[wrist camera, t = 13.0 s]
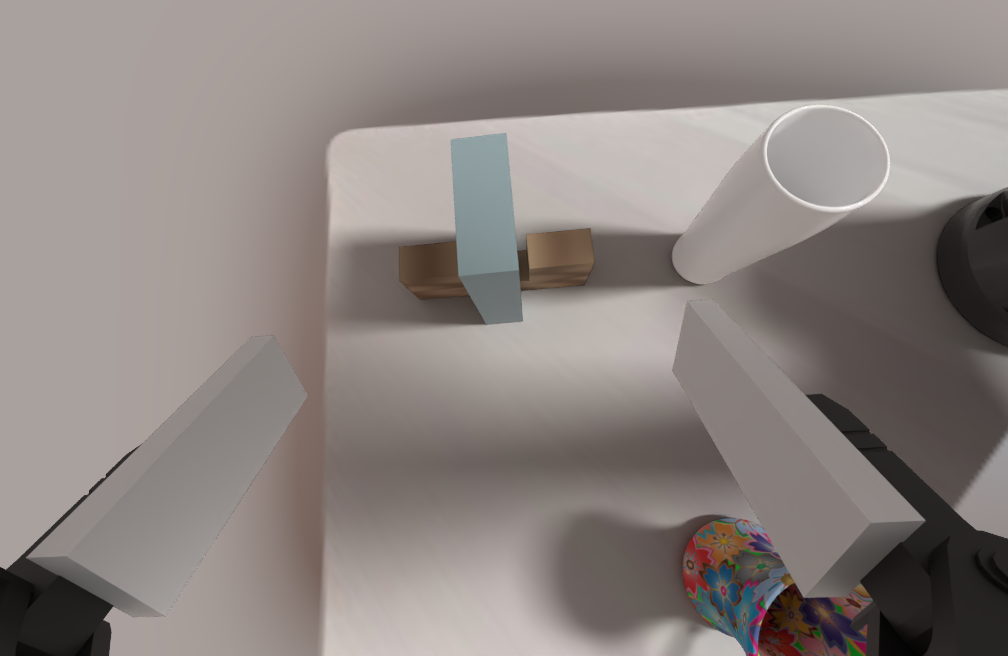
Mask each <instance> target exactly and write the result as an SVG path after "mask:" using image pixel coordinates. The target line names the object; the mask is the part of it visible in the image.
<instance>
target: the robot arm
mask: <svg viewBox="0 0 1008 656" xmlns="http://www.w3.org/2000/svg"><path fill="white" fill-rule="evenodd" d="M938 268H939V273H940V277H941V280H942V283H943V285H944V287H945V290H946V292H947V294H948V295H949V297H950V299H951V300H952V302H953V303H954V305H955V306H956V307H957V309H958V310H959V311H960V312H961V314H962V315H963V316H964V317H965V318H966V319H967V320H968V321H969V322H970V323H972V324H973V325H974V326H975V327H976V328H977V329H979V330H980V331H982V332H983V333H984V334H986V335H987V336H989V337H991V338H992V339H994V340H996V341H998V342H1000V343H1002V344H1004V345H1006V346H1008V187H1007V188H1004V189H1002V190H999V191H997V192H995V193H992V194H990V195H988V196H986V197H983V198H981V199H979V200H977V201H974V202H972V203H970V204H968V205H967V206H965V207H964V208H962V209H961V210H960V211H958V212H957V213H956V214H955V215H954V216H953V217H952V218H951V220H950V221H949V222H948V224H947V225H946V227H945V228H944V231H943V233H942V235H941V238H940V241H939V246H938ZM672 371H673V372H674V374H675V376H676V378H677V379H678V381H679V383H680V385H681V386H682V388H683V390H684V391H685V393H686V395H687V397H688V398H689V400H690V402H691V404H692V405H693V407H694V409H695V411H696V412H697V414H698V416H699V417H700V419H701V421H702V423H703V424H704V426H705V428H706V430H707V431H708V433H709V435H710V436H711V438H712V440H713V442H714V443H715V445H716V447H717V449H718V450H719V452H720V454H721V456H722V457H723V459H724V461H725V462H726V464H727V466H728V468H729V469H730V471H731V473H732V475H733V476H734V478H735V480H736V481H737V483H738V485H739V487H740V488H741V490H742V492H743V494H744V495H745V497H746V499H747V501H748V502H749V504H750V506H751V507H752V509H753V511H754V513H755V514H756V516H757V518H758V520H759V521H760V523H761V525H762V526H763V528H764V530H765V532H766V533H767V535H768V537H769V539H770V540H771V542H772V544H773V546H774V547H775V549H776V551H777V552H778V554H779V556H780V558H781V559H782V561H783V563H784V565H785V566H786V568H787V570H788V571H789V573H790V575H791V577H792V578H793V580H794V582H795V584H796V585H797V587H798V589H799V591H800V592H801V594H802V596H803V597H804V598H816V597H846V596H847V595H848V594H849V593H850V592H851V591H852V590H853V589H854V588H855V587H857V586H858V585H859V584H860V583H861V584H862V585H863V587H864V588H865V590H866V591H867V592H868V594H869V595H870V597H871V598H872V599H873V602H871V603H870V604H869V605H868V606H867V607H865V608H864V609H863V610H862V611H861V612H860V613H858V614H857V615H856V616H855V617H854V618H853V620H852V623H851V625H850V628H852V629H854V630H855V631H857V632H858V631H859V630H860V629H862V628H863V627H864V626H865V625H867V642H866V656H1008V539H1007V538H1004V537H1000V536H997V535H994V534H991V533H988V532H984V531H977V530H976V529H974V528H973V527H972V526H971V525H970V524H968V523H967V522H966V521H965V520H963V519H962V517H960V516H959V515H958V514H957V513H956V512H955V511H954V510H953V509H952V508H951V507H950V506H949V505H948V504H947V503H946V502H945V501H944V500H943V499H942V498H941V497H939V496H938V495H937V494H936V493H935V492H934V491H933V490H932V489H931V488H930V487H929V486H928V485H927V484H926V483H925V482H924V481H923V480H922V479H921V478H919V477H918V476H917V475H916V474H915V473H914V472H913V471H912V470H911V469H910V468H909V467H908V466H907V465H906V464H905V463H904V462H903V461H902V460H901V459H900V458H898V457H897V456H896V455H895V454H894V453H893V452H892V451H888V450H887V446H886V445H885V444H884V443H883V442H882V441H881V440H880V439H879V438H877V437H876V436H875V435H874V434H870V432H869V429H868V428H867V427H866V426H865V425H864V424H863V423H862V422H861V421H860V420H859V419H857V418H856V417H855V416H854V415H853V414H852V413H851V412H850V411H849V410H848V409H846V408H844V407H843V406H841V405H839V404H838V403H836V402H834V401H833V400H831V399H829V398H828V397H826V396H824V395H823V394H813V395H805V394H804V393H803V392H802V391H801V390H800V389H799V388H798V387H797V386H796V385H795V384H794V383H793V382H792V381H791V380H790V379H789V378H788V377H787V376H786V375H785V374H784V373H783V372H782V371H781V369H780V368H779V367H778V366H777V365H776V364H775V363H774V362H773V361H772V360H771V359H770V358H769V357H768V356H767V355H766V354H765V353H764V352H763V351H762V350H761V349H760V348H759V347H758V346H757V345H756V343H755V342H754V341H753V340H752V339H751V338H750V337H749V336H748V335H747V334H746V333H745V332H744V331H743V330H742V329H741V328H740V327H739V326H738V325H737V324H736V323H735V322H734V321H733V320H732V318H731V317H730V316H729V315H728V314H727V313H726V312H725V311H724V310H723V309H722V308H721V307H720V306H719V305H718V304H717V303H716V302H715V301H714V300H713V299H711V300H699V301H687V304H686V308H685V313H684V318H683V323H682V327H681V332H680V337H679V342H678V346H677V351H676V356H675V361H674V365H673V370H672ZM307 397H308V395H307V393H306V391H305V389H304V388H303V386H302V384H301V383H300V381H299V379H298V377H297V375H296V374H295V372H294V370H293V368H292V366H291V365H290V363H289V361H288V359H287V358H286V356H285V354H284V352H283V350H282V349H281V347H280V345H279V343H278V342H277V340H276V338H275V336H274V335H270V336H257V337H251V338H250V339H249V340H248V341H247V342H246V343H245V344H244V345H243V346H242V347H241V348H240V349H239V350H238V351H237V352H236V353H235V354H234V355H233V356H232V357H231V358H230V359H229V360H227V361H226V362H225V363H224V365H222V366H221V367H220V368H219V369H218V370H217V371H216V372H215V373H214V374H213V375H212V376H211V377H210V378H209V379H208V380H207V381H206V382H205V383H204V384H203V385H202V386H201V387H200V388H199V389H198V390H197V391H196V392H195V393H194V394H193V395H192V396H191V397H190V398H189V399H188V400H187V401H186V402H185V403H184V404H183V405H181V406H180V407H179V408H178V409H177V410H176V411H175V412H174V413H173V414H172V415H171V416H170V417H169V418H168V419H167V420H166V421H165V422H164V423H163V424H162V425H161V426H160V427H159V428H158V429H157V430H156V431H155V432H154V433H153V434H152V435H151V436H150V437H149V438H148V439H147V440H146V441H145V442H144V443H142V444H141V445H140V446H138V447H137V448H135V449H134V450H132V451H131V452H129V453H128V454H127V455H126V456H124V457H123V458H122V459H121V460H120V461H119V462H118V463H117V464H116V465H115V466H114V467H113V468H112V469H111V470H110V471H109V472H108V473H107V474H106V477H105V478H102V479H101V480H100V481H98V482H97V484H95V485H94V487H92V488H91V489H90V490H89V494H88V495H84V496H83V497H82V498H81V499H80V500H79V501H78V502H77V503H76V504H75V505H74V506H73V507H72V508H71V509H70V510H68V511H67V512H66V513H65V514H64V515H63V516H62V517H61V518H60V519H59V520H58V521H57V522H56V523H55V524H54V525H53V526H52V527H51V528H50V529H49V530H48V531H47V532H46V533H45V534H44V535H43V536H42V537H40V538H39V539H38V540H37V541H36V542H35V543H34V544H33V545H32V546H31V547H30V548H29V549H28V550H27V551H26V552H25V553H24V554H23V555H22V556H21V557H20V558H19V559H18V560H17V561H15V562H14V563H13V564H12V565H11V566H10V567H9V568H8V569H6V570H5V569H3V568H1V567H0V656H109V650H110V640H111V628H110V623H108V622H106V621H104V620H103V619H104V618H105V616H106V615H107V614H108V613H109V611H110V610H111V609H112V607H113V606H114V607H115V608H117V609H119V610H121V611H123V612H124V613H126V614H128V615H130V616H132V617H159V616H166V615H167V614H168V612H169V611H170V609H171V608H172V606H173V604H174V603H175V601H176V600H177V598H178V597H179V595H180V594H181V592H182V591H183V589H184V587H185V586H186V584H187V583H188V581H189V580H190V578H191V577H192V575H193V573H194V572H195V570H196V569H197V567H198V566H199V564H200V563H201V561H202V560H203V558H204V556H205V555H206V553H207V552H208V550H209V549H210V547H211V546H212V544H213V542H214V541H215V539H216V538H217V536H218V535H219V533H220V532H221V530H222V529H223V527H224V525H225V524H226V522H227V520H228V519H229V518H230V516H231V514H232V513H233V511H234V510H235V508H236V507H237V505H238V504H239V502H240V501H241V499H242V498H243V496H244V494H245V493H246V491H247V490H248V488H249V487H250V485H251V484H252V482H253V480H254V479H255V477H256V476H257V474H258V473H259V471H260V470H261V468H262V466H263V465H264V463H265V462H266V460H267V459H268V457H269V456H270V454H271V453H272V451H273V449H274V448H275V446H276V444H277V443H278V442H279V440H280V439H281V437H282V436H283V434H284V432H285V431H286V429H287V428H288V426H289V424H290V423H291V422H292V420H293V418H294V417H295V415H296V414H297V412H298V411H299V409H300V408H301V406H302V404H303V403H304V401H305V400H306V398H307Z"/></svg>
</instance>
